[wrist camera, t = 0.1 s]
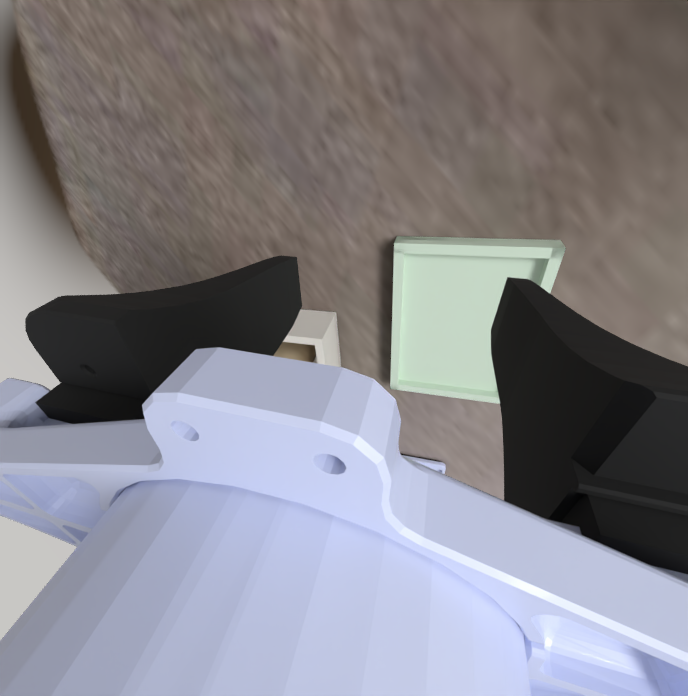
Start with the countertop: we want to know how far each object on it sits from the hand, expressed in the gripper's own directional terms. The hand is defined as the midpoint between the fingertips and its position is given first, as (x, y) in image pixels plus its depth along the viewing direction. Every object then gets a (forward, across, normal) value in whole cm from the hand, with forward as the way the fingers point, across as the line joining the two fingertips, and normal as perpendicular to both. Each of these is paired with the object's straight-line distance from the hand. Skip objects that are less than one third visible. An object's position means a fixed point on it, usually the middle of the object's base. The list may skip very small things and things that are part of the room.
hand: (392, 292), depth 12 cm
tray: (+10, -4, +7) cm, 13 cm away
